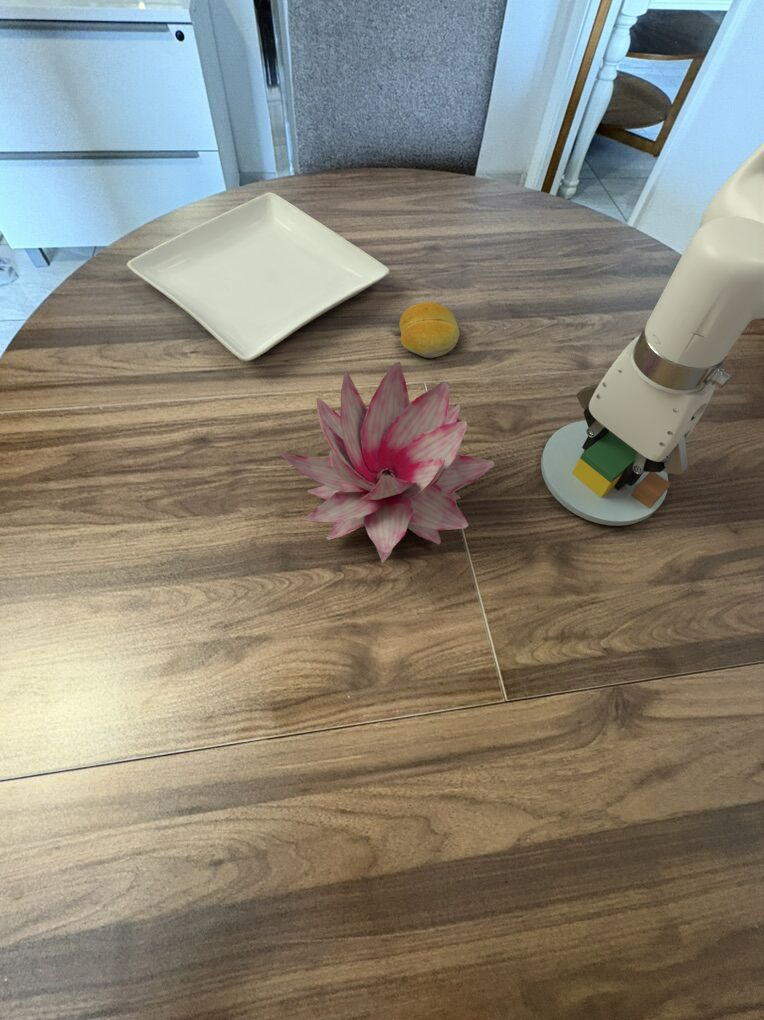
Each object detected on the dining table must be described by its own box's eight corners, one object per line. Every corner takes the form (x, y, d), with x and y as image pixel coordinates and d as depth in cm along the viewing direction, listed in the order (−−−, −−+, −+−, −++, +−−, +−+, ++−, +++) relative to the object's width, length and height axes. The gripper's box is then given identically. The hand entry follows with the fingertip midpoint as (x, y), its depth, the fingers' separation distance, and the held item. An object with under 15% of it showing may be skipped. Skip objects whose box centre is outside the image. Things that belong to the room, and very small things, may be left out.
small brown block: (642, 483, 73) (651, 469, 70) (661, 496, 72) (671, 483, 70) (630, 495, 72) (639, 482, 69) (649, 509, 71) (659, 496, 68)
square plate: (272, 210, 101) (269, 187, 98) (391, 290, 92) (393, 268, 88) (129, 281, 90) (121, 258, 86) (249, 381, 80) (245, 359, 77)
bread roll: (402, 361, 84) (404, 338, 80) (397, 316, 89) (399, 293, 85) (461, 360, 84) (466, 338, 81) (453, 316, 89) (458, 293, 86)
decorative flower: (334, 614, 64) (331, 543, 51) (265, 461, 74) (248, 370, 61) (509, 542, 69) (546, 462, 57) (423, 410, 79) (438, 316, 66)
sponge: (610, 442, 76) (622, 421, 72) (639, 465, 74) (653, 444, 71) (571, 473, 73) (582, 452, 69) (601, 498, 71) (614, 478, 68)
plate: (590, 410, 81) (594, 402, 79) (686, 483, 75) (693, 475, 74) (514, 468, 75) (517, 460, 74) (612, 551, 69) (617, 544, 68)
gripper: (776, 388, 56) (683, 498, 72) (628, 292, 63) (571, 412, 78) (732, 427, 53) (645, 533, 69) (581, 322, 60) (532, 440, 75)
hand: (606, 468), depth 73 cm, fingers closed on sponge, 4 cm apart
